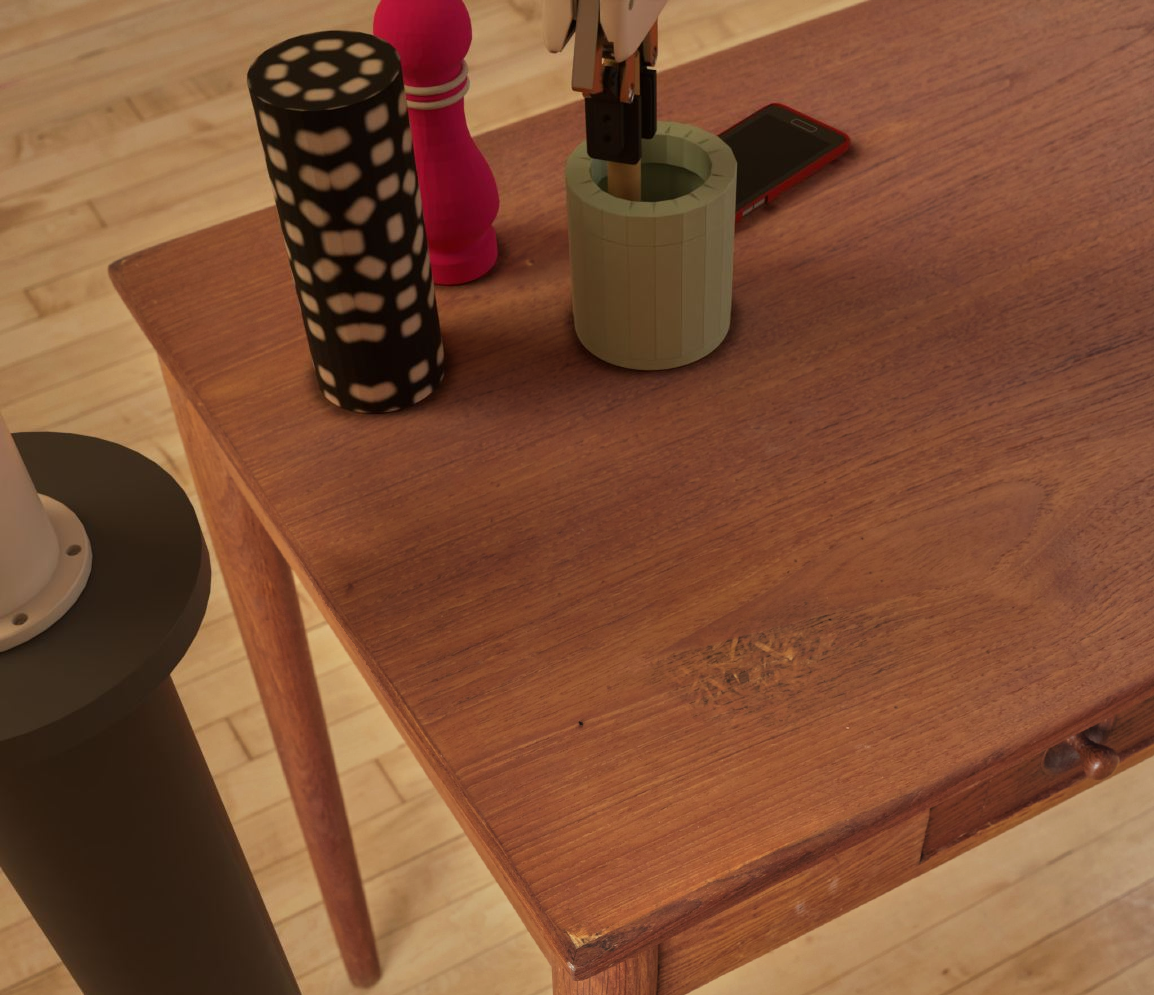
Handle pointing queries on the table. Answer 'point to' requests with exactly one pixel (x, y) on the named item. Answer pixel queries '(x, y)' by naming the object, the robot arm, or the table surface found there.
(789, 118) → the cell phone
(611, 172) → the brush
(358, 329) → the white-spotted black cylinder
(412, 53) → the pepper mill
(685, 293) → the jar
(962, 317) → the table surface
